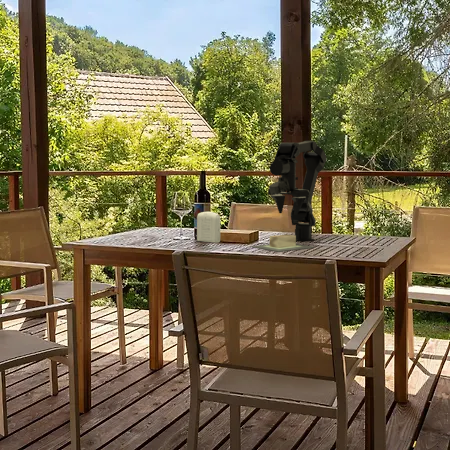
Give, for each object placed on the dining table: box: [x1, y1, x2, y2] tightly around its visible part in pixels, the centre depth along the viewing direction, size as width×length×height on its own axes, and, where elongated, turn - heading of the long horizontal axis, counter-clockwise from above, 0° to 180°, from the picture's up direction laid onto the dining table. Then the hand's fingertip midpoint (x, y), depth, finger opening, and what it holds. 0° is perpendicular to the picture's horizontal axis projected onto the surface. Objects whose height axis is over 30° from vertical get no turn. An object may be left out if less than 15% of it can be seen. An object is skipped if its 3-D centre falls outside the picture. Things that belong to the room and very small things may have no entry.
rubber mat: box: [251, 243, 315, 253], centre depth 269 cm, size 18×16×1 cm
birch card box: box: [269, 234, 297, 248], centre depth 268 cm, size 5×9×4 cm, turn 126°
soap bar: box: [196, 211, 221, 244], centre depth 285 cm, size 10×4×12 cm, turn 56°
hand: (288, 214), depth 277 cm, fingers open, 9 cm apart
